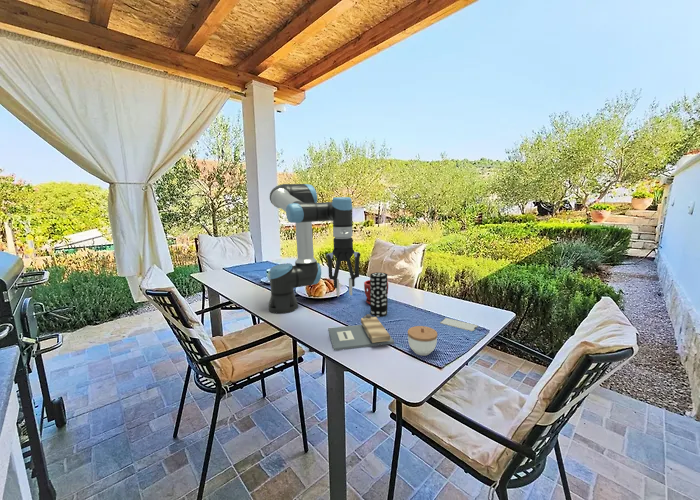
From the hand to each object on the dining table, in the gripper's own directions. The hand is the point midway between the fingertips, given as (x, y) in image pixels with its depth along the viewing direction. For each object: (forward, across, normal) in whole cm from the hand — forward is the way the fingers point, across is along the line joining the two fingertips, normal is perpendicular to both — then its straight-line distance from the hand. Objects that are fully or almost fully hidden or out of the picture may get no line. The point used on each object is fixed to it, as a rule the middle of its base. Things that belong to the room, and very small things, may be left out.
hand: (344, 294), depth 118 cm
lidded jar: (+19, +26, -17) cm, 36 cm away
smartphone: (+19, +52, +1) cm, 55 cm away
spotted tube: (+19, +21, +22) cm, 36 cm away
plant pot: (+19, +24, +37) cm, 48 cm away
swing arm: (+16, +12, 0) cm, 20 cm away
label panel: (+19, +6, 0) cm, 20 cm away
